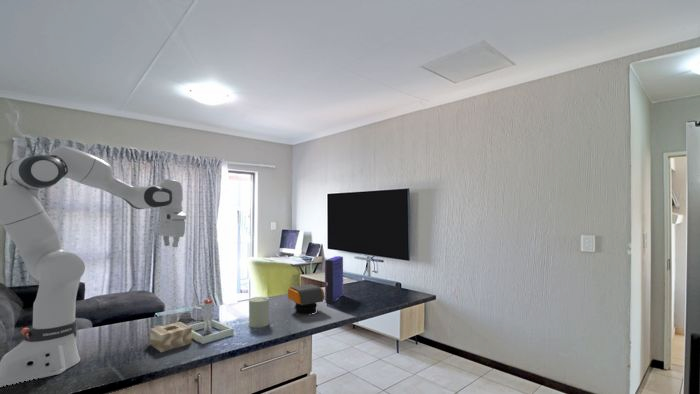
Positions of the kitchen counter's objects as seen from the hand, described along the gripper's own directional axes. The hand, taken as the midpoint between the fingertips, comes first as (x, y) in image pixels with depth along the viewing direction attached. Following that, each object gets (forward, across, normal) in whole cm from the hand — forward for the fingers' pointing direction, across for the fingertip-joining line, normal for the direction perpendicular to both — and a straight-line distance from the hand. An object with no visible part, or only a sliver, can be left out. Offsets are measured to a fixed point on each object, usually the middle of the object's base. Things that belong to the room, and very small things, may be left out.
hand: (170, 246), depth 152 cm
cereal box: (+37, +19, +85) cm, 95 cm away
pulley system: (+37, -3, +9) cm, 39 cm away
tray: (+37, +21, +8) cm, 43 cm away
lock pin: (+36, +21, +8) cm, 42 cm away
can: (+37, +24, +30) cm, 53 cm away
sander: (+37, +21, +58) cm, 72 cm away
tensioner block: (+37, +20, -7) cm, 43 cm away
